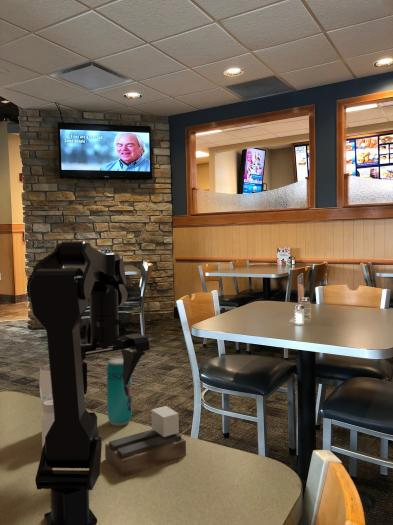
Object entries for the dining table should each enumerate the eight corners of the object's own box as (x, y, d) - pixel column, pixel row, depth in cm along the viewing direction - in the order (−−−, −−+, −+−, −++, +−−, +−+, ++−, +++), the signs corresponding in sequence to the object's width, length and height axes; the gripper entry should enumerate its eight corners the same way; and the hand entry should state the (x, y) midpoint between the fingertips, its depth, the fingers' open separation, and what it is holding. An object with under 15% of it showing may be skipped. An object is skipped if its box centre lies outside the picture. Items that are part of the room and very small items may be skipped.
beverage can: (127, 427, 101) (126, 364, 100) (104, 426, 102) (102, 363, 101) (135, 417, 107) (134, 357, 106) (113, 416, 108) (112, 357, 107)
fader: (166, 428, 92) (165, 405, 92) (178, 437, 88) (178, 413, 88) (151, 433, 90) (151, 409, 90) (163, 442, 86) (163, 417, 86)
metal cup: (34, 433, 98) (32, 368, 98) (56, 422, 104) (55, 361, 104) (56, 440, 95) (54, 372, 94) (78, 428, 101) (77, 364, 100)
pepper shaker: (42, 443, 93) (41, 400, 93) (62, 440, 95) (61, 397, 94) (42, 451, 90) (40, 406, 89) (62, 448, 91) (61, 404, 90)
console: (165, 440, 94) (165, 423, 94) (186, 455, 88) (185, 436, 87) (105, 459, 86) (105, 440, 86) (122, 476, 80) (122, 456, 79)
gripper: (126, 305, 101) (127, 371, 101) (45, 314, 90) (47, 388, 90) (151, 311, 92) (152, 383, 93) (65, 321, 81) (66, 403, 81)
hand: (105, 389), depth 89 cm, fingers open, 9 cm apart
